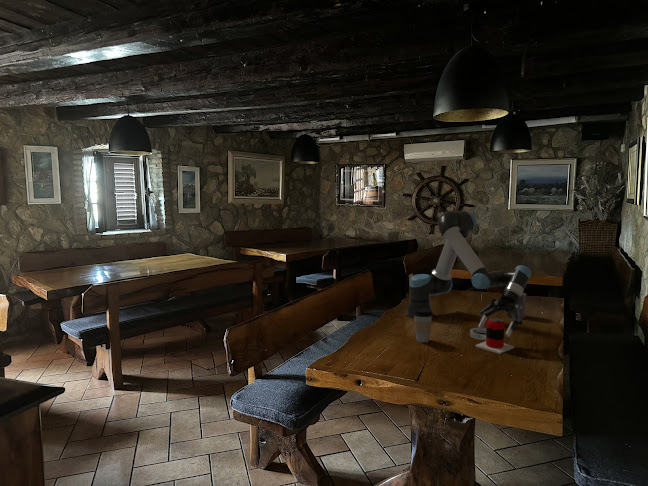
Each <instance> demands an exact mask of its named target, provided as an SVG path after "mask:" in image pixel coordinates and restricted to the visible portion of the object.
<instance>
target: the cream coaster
mask: <svg viewBox="0 0 648 486" xmlns="http://www.w3.org/2000/svg"><path fill="white" fill-rule="evenodd" d="M475 347H476V348H477V349H482V350H485V351H488V352H492V353H495V354H498V355H499V354H500V355H501V354H503V353H507V351H511V350H513V349H515V346H514V345H511V344H507V343H504V346H503V347H502V348H492V347H489V346H487V345H486V340H484V341H482V342H480V343H477V344H475Z"/></svg>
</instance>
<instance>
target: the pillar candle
mask: <svg viewBox="0 0 648 486" xmlns="http://www.w3.org/2000/svg"><path fill="white" fill-rule="evenodd" d="M526 298H527V293H525V292H523V293H522V295H521V297H520V299H519V301H518V303H517V305H518V304H521V306H522V311H521V312H522V319H524V318H525V316H526V301H527V299H526ZM513 312H514V315H515V317H516V320H518V315H517V308H514V309H513ZM506 317H508V318H511V319H512V316H511V314H510V311H509V312H506Z"/></svg>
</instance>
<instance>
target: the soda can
mask: <svg viewBox="0 0 648 486" xmlns="http://www.w3.org/2000/svg"><path fill="white" fill-rule="evenodd" d="M485 328H486V334H485V335H486V340H485V341H486V345H487V346H489V347H492V348H502V347H503V346H504V344H505V322H504V321H503V320H502V319H500V318H494V317H492V318H489V319H487V321H486V327H485Z"/></svg>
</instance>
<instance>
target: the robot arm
mask: <svg viewBox="0 0 648 486" xmlns="http://www.w3.org/2000/svg"><path fill="white" fill-rule="evenodd" d="M477 223H478V221H477V218H476V216H475V214H474V213H473V212H472V211H470V210H449V211H445V212H443V213H442V214H441V215H440V216H439V218H438V221H437V227H438V232H439V233H440V235H441V236H442V238H443V239H444V240H445V242H444V245H443V247H442V251H441V253H440V256H439V259H438V260H437V265H436V267H435V268H434V269H432V270H431V273H430V274H425V273H421V274H420V273H418V274H414V275H412V276H411V277H410V279H409V285H408V286H409V300H408V301H409V302H408V305H407V308H406V311H405V312H406V314H407V315H408V316H407V315H406V316H407V317H410V318H414V315H413V312H414V310H415V309H417V308H427V309H430V310H431V311H432V313H433V314H434V311H433V309H432V305H431V297H433V296H438V295H440V296H441V295H445V294H447V293H449V292H450V291H451V290H452V289H453V279H452V274H451V273H452V269H453V267H454V265H455V261H456V259H457V256H458V258H459V259H460V260H461V263H462V264H463V265H464V266H465V268H466V269H467V271H468V272H469V273H470V275H471V280H470V281H471V284H472V286H473V287H474V288H475V289H477V290H486V289H490V288H496V287H502V286H503V287H504V286H506V287H505V288H504V291H502V294H501V296H500V299H499V300H497V299H496V298H492V300H491V301H490V302H489V303H488V304H487V305H486V306H485V307H483V308H482V309H481V310H480V311H479V313H480V315H481V317H480V319H479V321H480V322H479V324H478V326H477V328H480V330H482V328H484V326H485V325H486V324H487V321H488V320H489V319H488V317H490V316H491V315H493V314H495V313H497V312H506V313H507V312H509V311H510V314H511V316H512V318H511V319H512V321H511V322H510V324H509V326H508V328H507V330H506V331H505V335H506V337H507V338H510V337H511V335H512V332H513V331H516V328H517V326H519V325H520V326H522V325H523V318H522V312H521V311H522V306H521V304H518V305H517V303H518V301H519V299H520V297H521V295H522V293H524V290H525V288H526V287H527V284H528V283H529V280H530V278H531V276H532V270H531V269H530V268H529V267H527V266H525V265H521V264H520V265H517V266H516V267H515V268H514V269H513V270H512V269H511V270H499V269H497V270H492V271H488V269H487V268H486V267H485V265H484V264H483V262H482V261H481V260H480V258H479V257H478V255H477V254H476V253H475V251H474V250H473V248H472V247H471V245H470V244H469V243H468V242H467V240H466V239H467V238H468V236H469V234H470V233H471V232H472V231H474V230H475V229H476V227H477V225H478V224H477ZM514 308H517V315H518V319H516V317H515V315H514V312H513V309H514ZM414 319H415V318H414Z"/></svg>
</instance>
